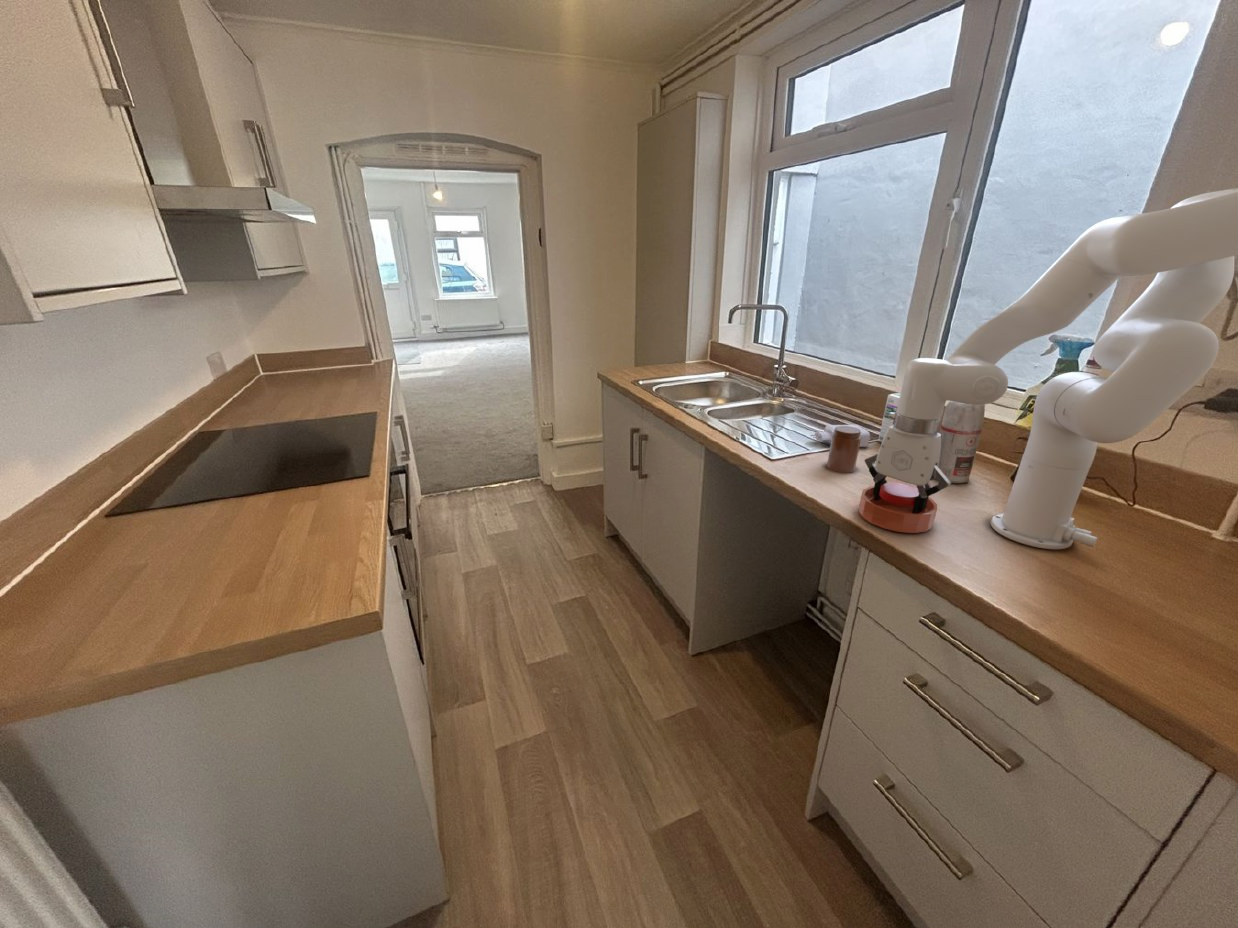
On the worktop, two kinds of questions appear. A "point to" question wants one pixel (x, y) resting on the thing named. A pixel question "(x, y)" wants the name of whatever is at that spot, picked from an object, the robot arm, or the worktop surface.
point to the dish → (896, 514)
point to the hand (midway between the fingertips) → (897, 505)
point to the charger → (830, 429)
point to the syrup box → (890, 407)
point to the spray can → (960, 439)
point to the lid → (898, 493)
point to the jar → (844, 449)
